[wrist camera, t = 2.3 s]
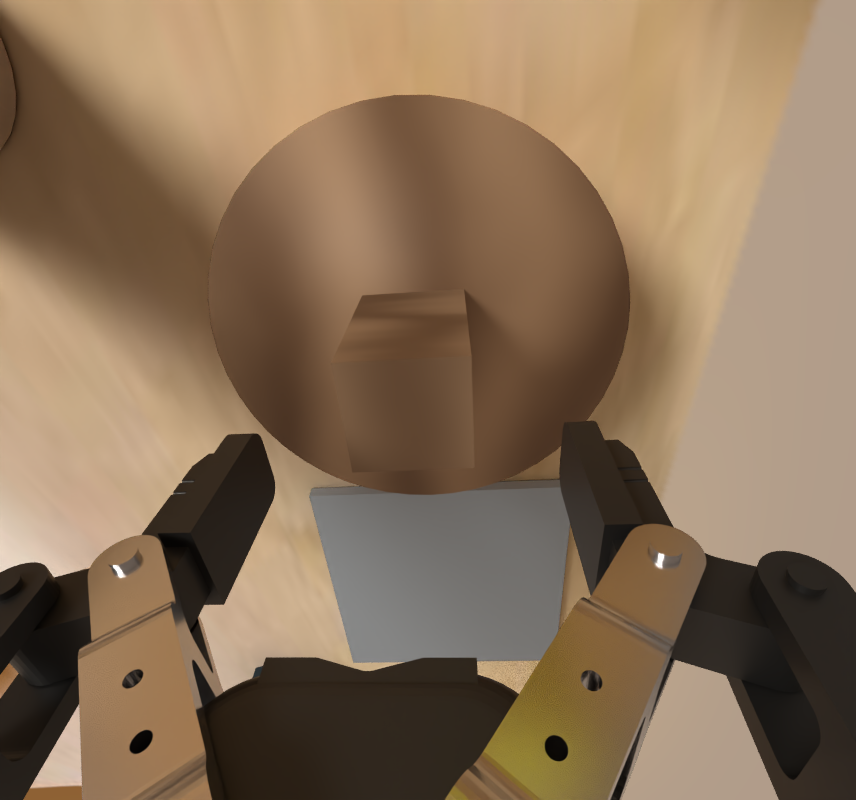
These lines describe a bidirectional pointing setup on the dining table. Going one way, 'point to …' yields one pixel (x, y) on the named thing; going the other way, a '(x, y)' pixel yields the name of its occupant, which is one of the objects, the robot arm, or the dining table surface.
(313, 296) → the lid
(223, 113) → the dining table surface
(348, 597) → the mat
